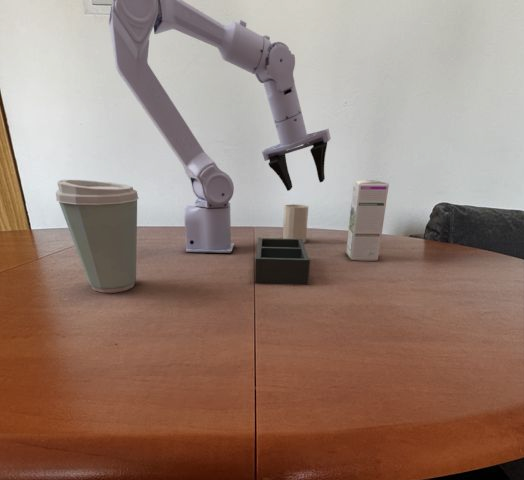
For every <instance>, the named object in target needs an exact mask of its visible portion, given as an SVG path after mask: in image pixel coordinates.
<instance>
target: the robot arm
mask: <svg viewBox="0 0 524 480" xmlns="http://www.w3.org/2000/svg"><path fill="white" fill-rule="evenodd" d="M108 29H109V32H110V39H111V45H112V46H111V47H112V50H113V51H112V53H113V58H114V65H115V70H116V71H117V73H118V74H119V76H120V78H121V79H122V80H123V82H124V83H125V85H126V86H127V87H128V89H129V90H130V92H131V93H132V95H133V96H134V97H135V99H136V101H137V102H138V103H139V105H140V106H141V108H142V109H143V110H144V112H145V114H146V115H147V116H148V118H149V119H150V121H151V122H152V124H153V125H154V126H155V128H156V129H157V130H158V132H159V133H160V135H161V137H162V138H163V140H165V142H166V144H167V145H168V147H169V148H170V150H171V151H172V152H173V154H174V155H175V157H176V158H177V160H179V162H180V163H181V165H182V166H183V169H184V172H185V175H186V176H187V178H188V179H189V181H190V183H191V190H192V192H193V194H194V196H196V200H195V201H194V205H186V206H185V208H184V215H183V216H184V220H183V221H184V232H185V233H184V234H185V247H186V249H185V252H186V253H208V254H210V253H213V254H221V253H222V254H231V253H232V251H233V249H234V247H235V242H232V231H231V230H232V229H231V228H232V226H231V222H232V221H231V203H230V201H231V199H232V198H233V195H234V191H235V187H234V182H233V180H232V178H231V177H230V175H229V174H227V172H225V171H224V170H222V169H220V168H219V167H218V165H217V164H216V162H215V161H214V160H213V159H212V158H211V157H210V155H208V154H207V152H206V151H205V149H203V147H202V146H201V144H200V142H199V141H198V139H197V137H196V136H195V135H194V133H193V132H192V130H191V128H190V127H189V125H188V124H187V122H186V120H185V119H184V118H183V116H182V115H181V113H180V112H179V110H178V109H177V107H176V105H175V104H174V102H173V100H172V99H171V98H170V96H169V94H168V93H167V91H166V90H165V88H164V86H163V85H162V84H161V82H160V80H159V79H158V77H157V76H156V74H155V73H154V71H153V70H152V68H151V66H150V65H149V63H148V58H149V49H150V37H151V34H152V31H153V34H154V35H158V34H162V33H165V32H168V31H171V30H175V31H177V32H180V33H182V34H184V35H186V36H189V37H192V38H193V39H196V40H198V41H201V42H202V43H205V44H207V45H210V46H212V47H215V48H217V49H218V52H219V54H220V56H221V58H222V60H224V61H225V62H227V63H230V64H231V65H234V66H236V67H238V68H240V69H241V70H244V71H246V72H248V73H251V74H252V75H254V76H255V78H256V79H257V81H258V82H259V83H260V84H263V86H264V90H265V93H266V97H267V101H268V105H269V109H270V111H271V115H272V119H273V122H274V125H275V130H276V133H277V136H278V140H279V143H278V144H275V145H273V146H270V147H267V148H265V149H263V150H261V151H262V152H261V153H262V156H263V160H264V161H269V162H268V166H269V168H270V169H272V171H274V173H275V174H276V175H277V176H278V178H279V179H280V180H281V182H282V184H283V185H284V188H285V189H286V191H287V192H289V191H291V190H292V188H293V183H292V179H291V176H290V173H289V168H288V163H287V158H286V157H287V156H286V155H287V154H290V153H294V152H297V151H299V150H302V149H306V148H309V147H311V148H310V149H309V152H310V154H311V156H312V159H313V162H314V165H315V168H316V174H317V178H318V182H319V183H323V182H324V181H325V177H326V176H325V161H326V152H327V147H328V142H330V140H331V134H330V133H331V132H330V129H329V128H326V129H322V130H319V131H314V132H311V133H308V131H307V128H306V125H305V121H304V116H303V111H302V108H301V104H300V100H299V95H298V91H297V87H296V83H295V78H294V70H295V68H296V67H295V66H296V56H295V54H294V53H292V51H291V50H290V48H289V47H288V45H287V44H286V43H284V42H281V41H276V42H271V40H270V39H271V38H270V36H268V35H266V34H264V35H260V34H259V33H257V32H256V31H253V30H251V29H250V28H248V27H247V22H246V21H244V20H243V19H239V20H238V21H235V20H232V21H230V22H229V23H227V24H223V23H221V22H219V20H216V19H214V18H213V17H211V16H210V15H207V14H206V13H204V12H203V11H201V10H199V9H198V8H196V7H195V6H193V5H191V4H189V3H188V2H186V1H184V0H112V2H111V5H110V12H109V20H108Z"/></svg>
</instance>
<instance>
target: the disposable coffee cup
mask: <svg viewBox="0 0 524 480" xmlns="http://www.w3.org/2000/svg"><path fill="white" fill-rule="evenodd" d="M57 187H58V190H57V191H56V192H55V196H56V199H55V200H56V202H58V203H59V206H60V210H61V211H62V214H63V217H64V219H65V222H66V225H67V228H68V231H69V233H70V236H71V238H72V239H71V240H72V242H73V244H74V247H75V250H76V252H77V255H78V257H79V260H80V263H81V266H82V269H83V271H84V275H85V277H86V279H87V282H88V284H89V285H90V287H91V288H92V290H94V292H98V293H102V294H106V293H107V294H111V293H114V294H115V293H120V292H121V293H122V292H125V291H128V290H130V289H133V288H134V286H135V284H136V283H135V282H136V280H137V250H138V249H137V245H138V244H137V241H138V239H137V237H138V199H139V197H138V191H137V190H136V189H134V188H133V186H132V185H129V184H124V183H117V182H108V181H100V180H99V181H98V180H85V179H84V180H83V179H61V180H58V181H57Z"/></svg>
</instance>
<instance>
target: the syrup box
mask: <svg viewBox="0 0 524 480" xmlns="http://www.w3.org/2000/svg"><path fill="white" fill-rule="evenodd" d="M389 186H390V183H389V182H385V181H381V180H373V179H372V180H371V179H362V180H354V181H353V185H352V195H351V203H350V211H349V223H348V230H347V239H346V249H345V254H346V256H347V257H348V258H349V260H351V261H361V262H363V261H364V262H367V261H369V262H374V261H375V262H377V261H378V260H379V255H380V249H381V248H380V247H381V242H382V236H383V228H384V221H385V216H386V215H385V214H386V209H387V208H386V207H387V199H388V193H389Z"/></svg>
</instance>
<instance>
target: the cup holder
mask: <svg viewBox="0 0 524 480" xmlns="http://www.w3.org/2000/svg"><path fill="white" fill-rule="evenodd" d="M254 263H255V265H254V267H255V268H254V269H255V271H254V272H255V273H254V275H255V276H254V280H255V281H254V284H281V285H282V284H283V285H308V284H309V276H310V264H311V259H310V257H309V254H308V251H307V249H306V246H305V242H304V243H303V240H302V239H283V237H281V238H279V237H277V238H276V237H275V238H274V237H258V238H257V246H256V252H255V262H254Z"/></svg>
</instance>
